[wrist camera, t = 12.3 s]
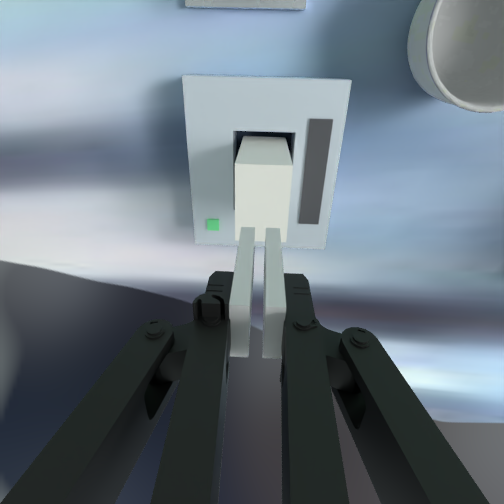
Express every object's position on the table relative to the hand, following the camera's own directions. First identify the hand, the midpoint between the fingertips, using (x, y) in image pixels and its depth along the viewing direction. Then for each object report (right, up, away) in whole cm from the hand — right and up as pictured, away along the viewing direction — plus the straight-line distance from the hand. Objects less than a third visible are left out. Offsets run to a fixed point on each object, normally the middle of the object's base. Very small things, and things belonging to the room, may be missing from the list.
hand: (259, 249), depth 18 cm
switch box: (+1, +9, +16) cm, 18 cm away
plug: (+1, +9, +16) cm, 18 cm away
